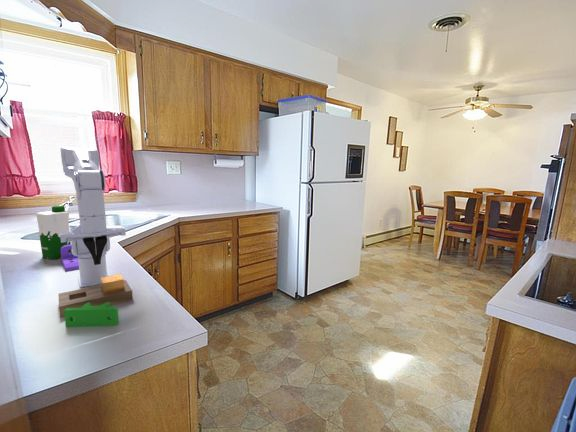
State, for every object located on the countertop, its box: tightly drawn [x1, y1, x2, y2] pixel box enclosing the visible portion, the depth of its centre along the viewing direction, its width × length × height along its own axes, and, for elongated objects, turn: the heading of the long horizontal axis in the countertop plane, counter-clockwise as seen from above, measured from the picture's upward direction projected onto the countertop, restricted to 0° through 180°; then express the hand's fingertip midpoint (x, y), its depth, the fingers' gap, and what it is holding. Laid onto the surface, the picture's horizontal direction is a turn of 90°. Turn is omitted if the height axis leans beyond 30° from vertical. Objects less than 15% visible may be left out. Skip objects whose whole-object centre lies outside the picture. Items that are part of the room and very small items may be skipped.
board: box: [58, 279, 134, 318], centre depth 78 cm, size 9×16×3 cm, turn 129°
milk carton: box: [35, 205, 72, 260], centre depth 114 cm, size 9×9×20 cm
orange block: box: [100, 273, 125, 294], centre depth 80 cm, size 5×5×6 cm
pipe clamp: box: [64, 302, 120, 328], centre depth 68 cm, size 11×4×5 cm, turn 96°
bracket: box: [61, 244, 79, 272], centre depth 106 cm, size 12×7×7 cm, turn 43°
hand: (97, 263), depth 79 cm, fingers closed
